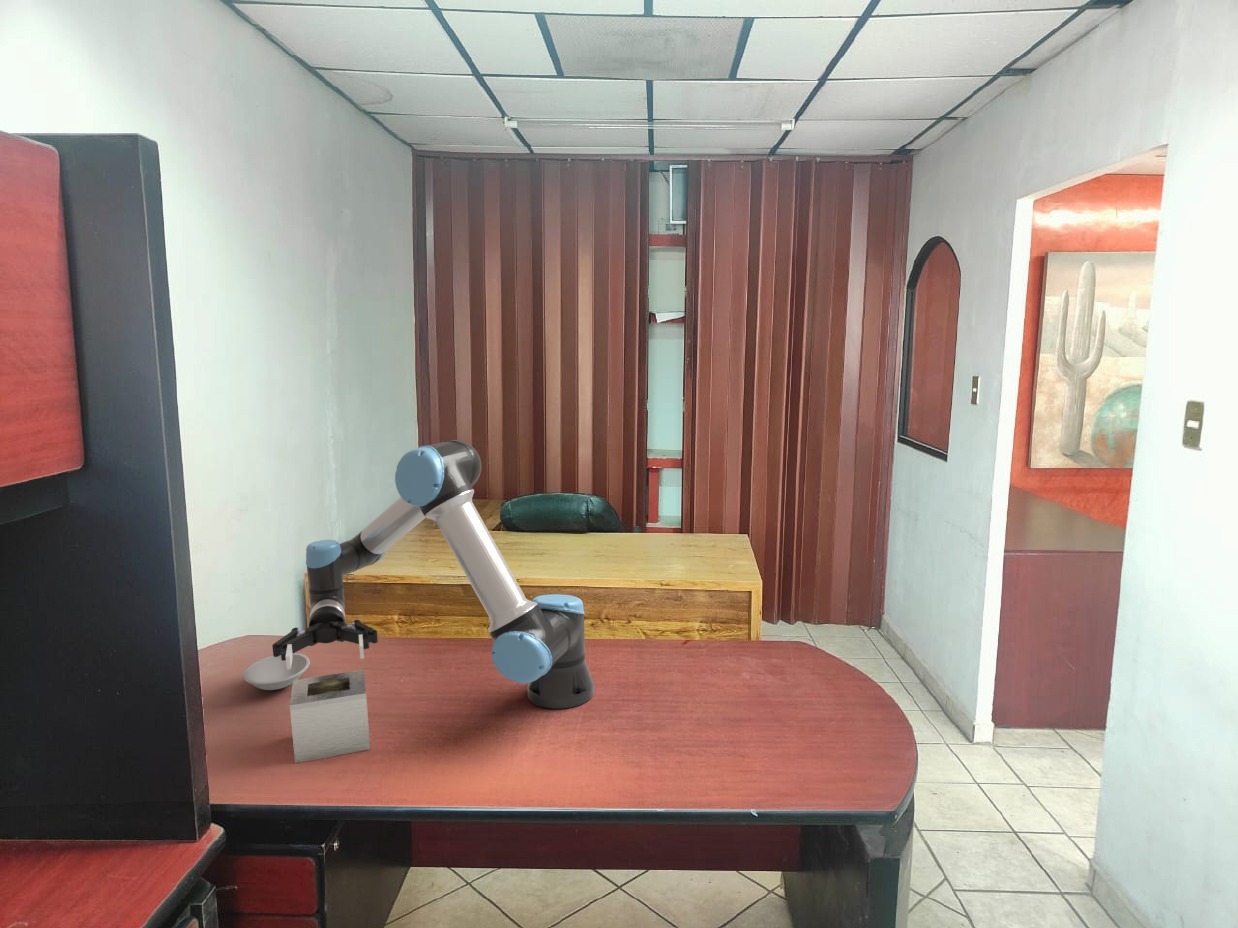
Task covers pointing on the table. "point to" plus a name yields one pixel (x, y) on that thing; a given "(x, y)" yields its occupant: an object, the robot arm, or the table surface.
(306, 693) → the grey tissue box
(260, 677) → the dish
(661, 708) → the table surface
